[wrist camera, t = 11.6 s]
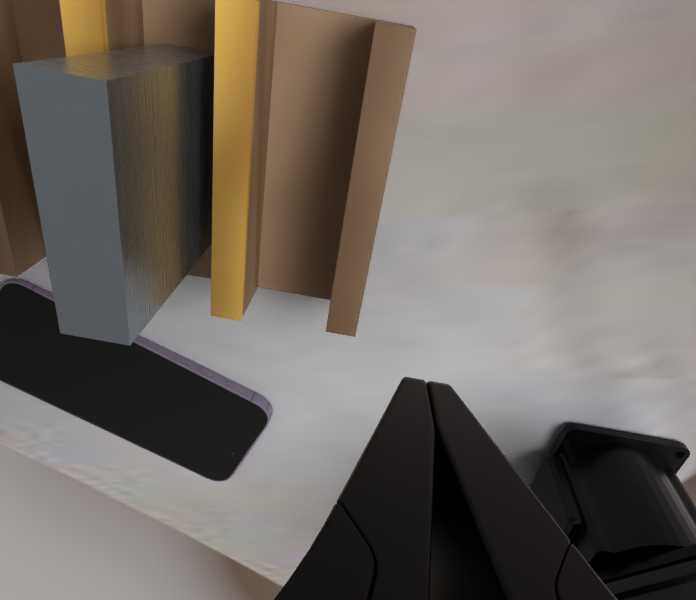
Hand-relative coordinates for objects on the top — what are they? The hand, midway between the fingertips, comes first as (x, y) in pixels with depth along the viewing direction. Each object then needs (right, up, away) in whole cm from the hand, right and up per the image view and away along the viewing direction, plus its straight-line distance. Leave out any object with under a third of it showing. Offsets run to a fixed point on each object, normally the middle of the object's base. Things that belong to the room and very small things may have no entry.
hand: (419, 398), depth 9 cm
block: (-7, +8, +10) cm, 15 cm away
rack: (-7, +8, +11) cm, 16 cm away
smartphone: (-13, -3, +19) cm, 23 cm away
